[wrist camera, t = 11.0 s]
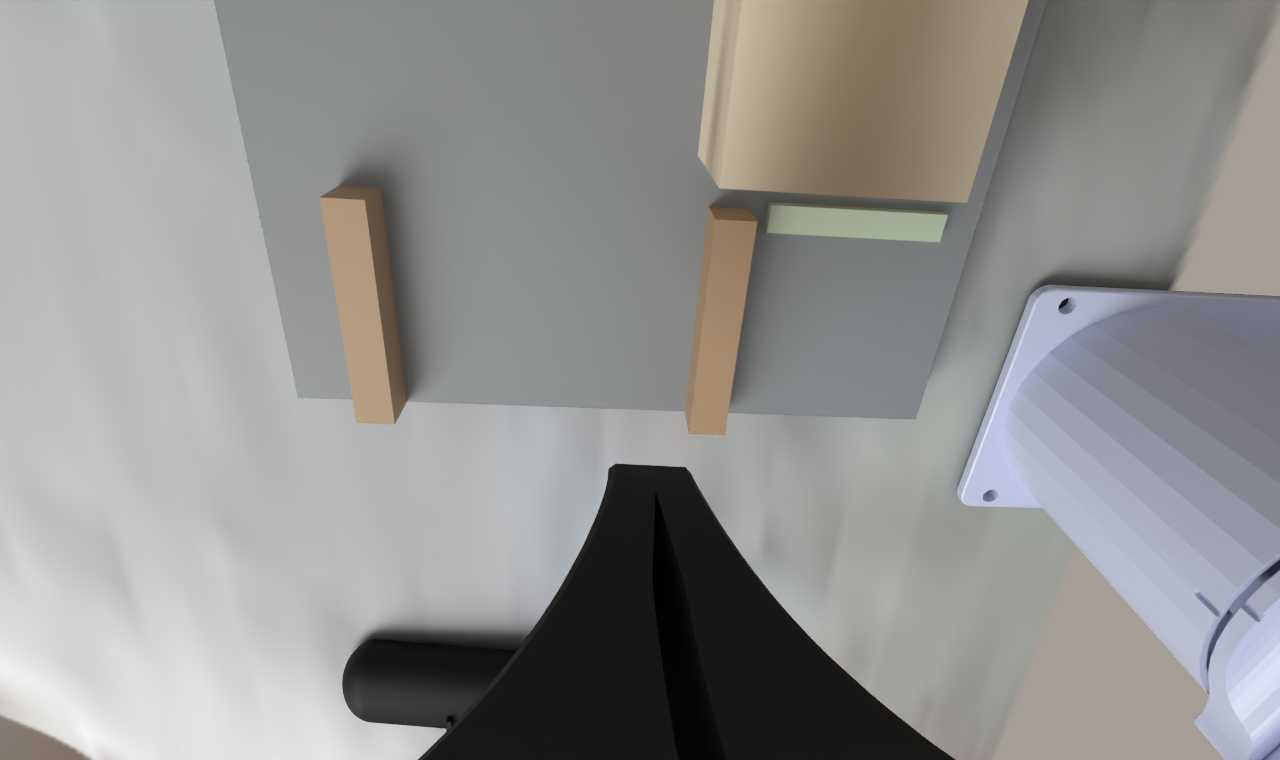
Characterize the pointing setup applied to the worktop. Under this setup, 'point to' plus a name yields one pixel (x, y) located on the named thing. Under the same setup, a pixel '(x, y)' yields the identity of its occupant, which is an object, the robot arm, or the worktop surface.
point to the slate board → (567, 219)
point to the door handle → (417, 681)
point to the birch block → (854, 94)
